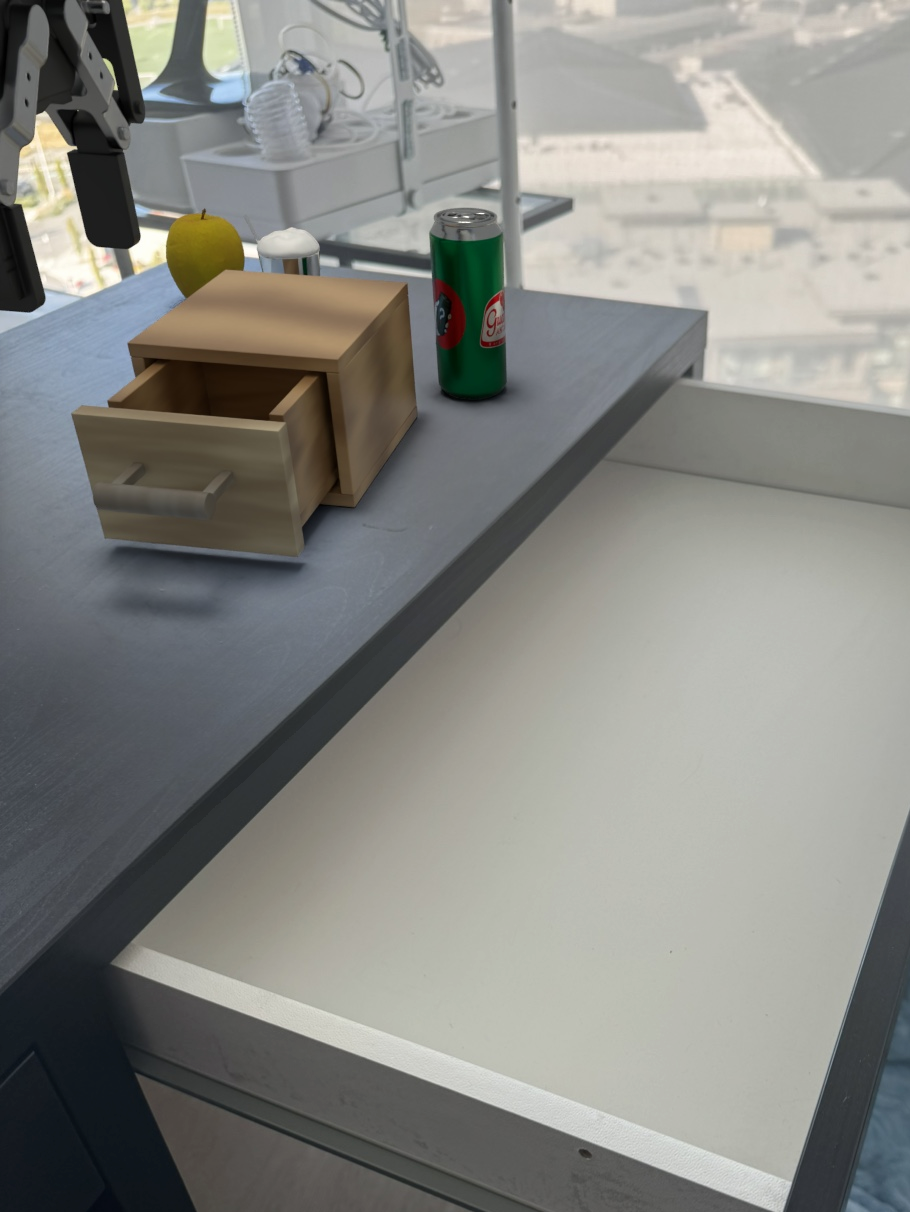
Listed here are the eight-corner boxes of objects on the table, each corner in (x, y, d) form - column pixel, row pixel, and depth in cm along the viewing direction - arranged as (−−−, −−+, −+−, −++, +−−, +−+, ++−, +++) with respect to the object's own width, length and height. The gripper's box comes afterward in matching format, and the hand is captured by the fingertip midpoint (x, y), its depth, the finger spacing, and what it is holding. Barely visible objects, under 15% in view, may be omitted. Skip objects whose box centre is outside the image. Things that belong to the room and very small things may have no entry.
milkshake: (277, 342, 93) (257, 207, 87) (340, 349, 93) (325, 213, 86) (253, 362, 90) (231, 223, 84) (319, 369, 89) (301, 228, 83)
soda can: (498, 405, 85) (493, 227, 77) (430, 399, 85) (419, 222, 78) (513, 380, 88) (510, 208, 81) (449, 374, 89) (439, 203, 81)
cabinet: (354, 507, 72) (337, 359, 66) (160, 489, 73) (126, 342, 67) (417, 416, 83) (407, 282, 77) (247, 401, 84) (225, 269, 78)
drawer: (270, 596, 62) (247, 465, 57) (66, 575, 63) (28, 446, 58) (369, 457, 75) (357, 342, 70) (201, 442, 76) (178, 329, 72)
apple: (232, 321, 97) (215, 217, 92) (162, 313, 98) (141, 211, 93) (265, 297, 102) (250, 198, 97) (197, 291, 103) (179, 192, 98)
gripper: (-47, -244, 43) (65, 224, 54) (-328, -265, 33) (-119, 326, 43) (145, -236, 43) (222, 235, 53) (-76, -256, 32) (74, 341, 42)
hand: (69, 275), depth 48 cm, fingers open, 8 cm apart
